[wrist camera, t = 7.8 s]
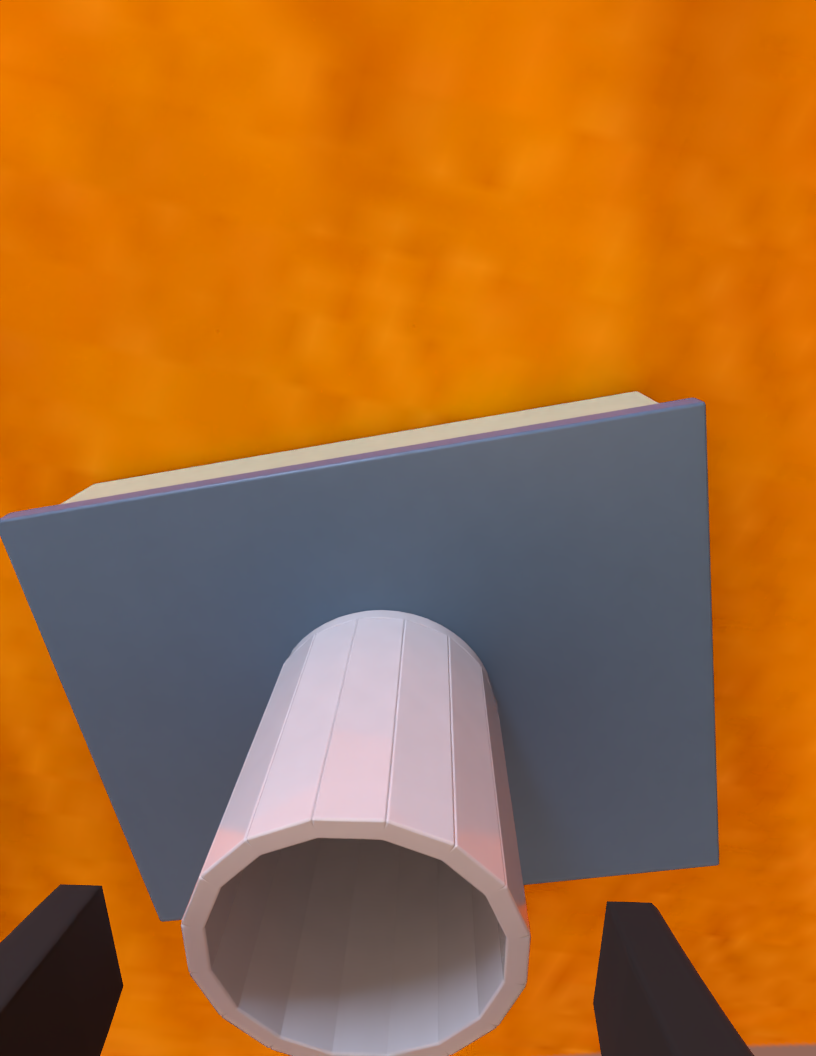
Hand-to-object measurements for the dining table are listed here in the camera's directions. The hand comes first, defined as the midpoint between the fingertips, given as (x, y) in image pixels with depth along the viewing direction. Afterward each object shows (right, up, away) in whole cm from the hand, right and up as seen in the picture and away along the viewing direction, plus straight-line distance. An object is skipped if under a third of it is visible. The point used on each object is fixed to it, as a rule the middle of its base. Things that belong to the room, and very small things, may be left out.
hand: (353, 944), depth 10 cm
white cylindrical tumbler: (0, +2, +6) cm, 6 cm away
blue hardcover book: (0, +3, +9) cm, 10 cm away
